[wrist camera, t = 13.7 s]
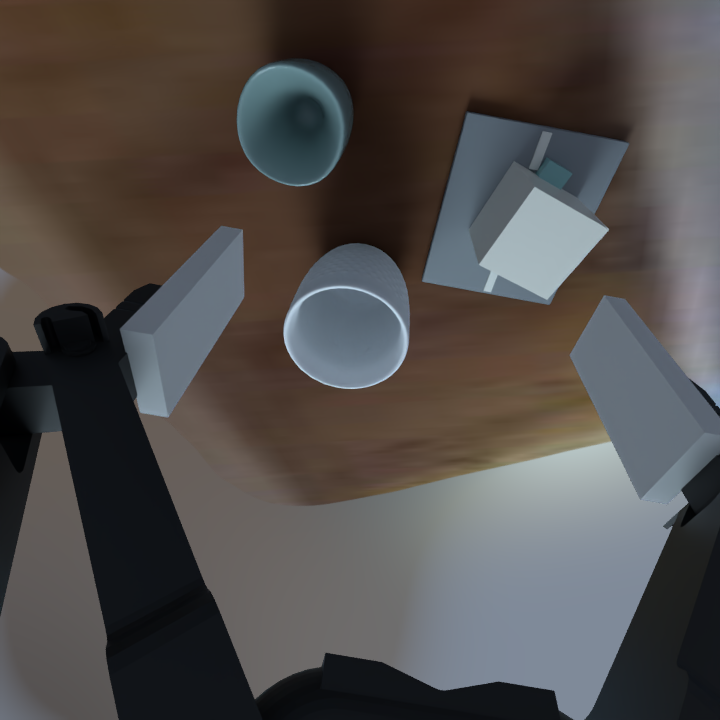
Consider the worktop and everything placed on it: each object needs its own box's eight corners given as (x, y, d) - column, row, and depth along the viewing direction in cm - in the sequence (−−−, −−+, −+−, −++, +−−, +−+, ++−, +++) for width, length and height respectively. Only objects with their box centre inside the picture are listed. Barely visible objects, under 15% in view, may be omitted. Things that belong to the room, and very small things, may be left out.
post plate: (466, 111, 37) (476, 124, 31) (624, 140, 37) (662, 160, 31) (422, 277, 46) (423, 310, 41) (547, 300, 47) (565, 336, 41)
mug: (373, 352, 53) (364, 429, 43) (289, 321, 52) (259, 393, 41) (427, 249, 44) (432, 314, 34) (328, 207, 43) (302, 262, 32)
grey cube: (459, 242, 43) (468, 279, 36) (524, 144, 37) (548, 167, 30) (517, 272, 44) (535, 312, 38) (589, 182, 38) (624, 212, 32)
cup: (344, 169, 40) (327, 202, 33) (264, 139, 39) (228, 165, 32) (371, 76, 36) (359, 88, 28) (281, 39, 35) (243, 41, 27)
